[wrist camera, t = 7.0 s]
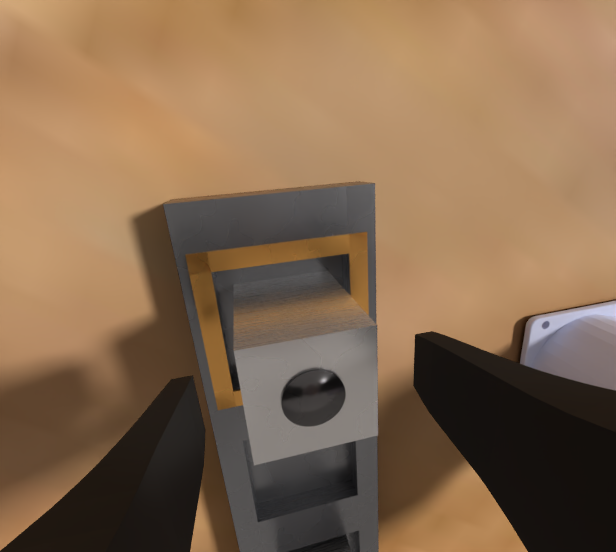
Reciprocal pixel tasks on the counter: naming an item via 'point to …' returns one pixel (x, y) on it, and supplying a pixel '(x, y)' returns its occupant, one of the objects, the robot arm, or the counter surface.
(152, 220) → the counter surface
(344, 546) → the nut
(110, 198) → the counter surface
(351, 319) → the drawer with knob
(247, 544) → the rail
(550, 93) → the counter surface
